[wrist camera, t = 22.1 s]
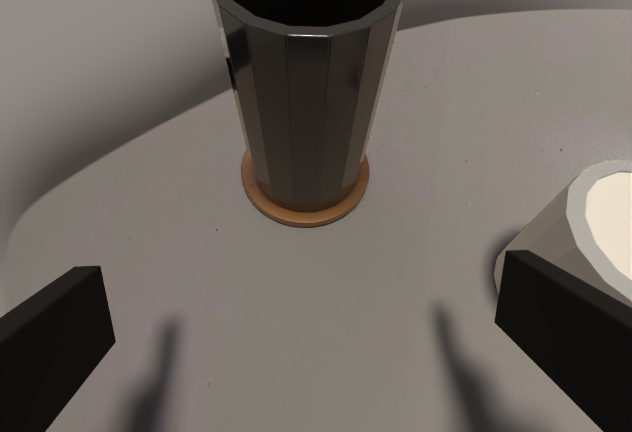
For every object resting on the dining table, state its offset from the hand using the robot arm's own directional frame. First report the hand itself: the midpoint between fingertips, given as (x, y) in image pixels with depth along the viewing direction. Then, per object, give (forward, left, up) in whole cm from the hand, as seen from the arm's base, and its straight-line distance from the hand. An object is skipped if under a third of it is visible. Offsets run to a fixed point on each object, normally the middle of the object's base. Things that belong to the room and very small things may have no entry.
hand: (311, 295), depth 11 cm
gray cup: (-8, +6, -6) cm, 12 cm away
